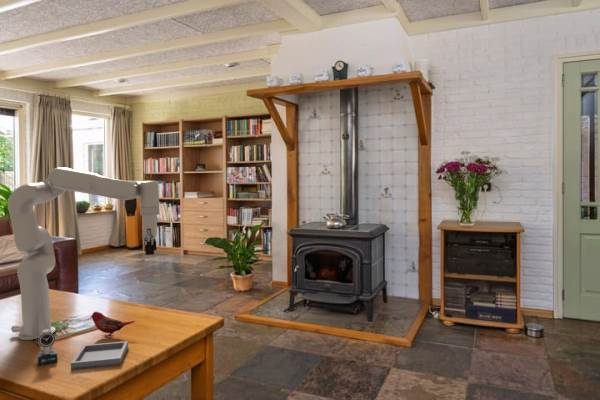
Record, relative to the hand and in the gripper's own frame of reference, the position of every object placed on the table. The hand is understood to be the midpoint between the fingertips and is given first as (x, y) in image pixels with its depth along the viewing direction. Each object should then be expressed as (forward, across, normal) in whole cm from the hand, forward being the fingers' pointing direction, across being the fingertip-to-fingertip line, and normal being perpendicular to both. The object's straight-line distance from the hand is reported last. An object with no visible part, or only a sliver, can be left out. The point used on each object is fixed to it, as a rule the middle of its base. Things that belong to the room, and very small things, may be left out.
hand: (151, 252), depth 179 cm
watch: (+31, +28, -31) cm, 52 cm away
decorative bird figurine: (+31, +9, -14) cm, 35 cm away
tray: (+31, +29, -14) cm, 45 cm away
